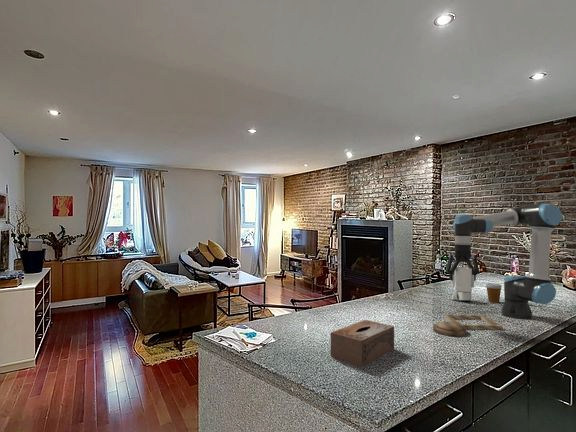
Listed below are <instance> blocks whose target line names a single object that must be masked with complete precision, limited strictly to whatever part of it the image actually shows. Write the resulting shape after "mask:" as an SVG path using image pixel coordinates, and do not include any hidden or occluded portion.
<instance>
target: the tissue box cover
mask: <svg viewBox="0 0 576 432" xmlns="http://www.w3.org/2000/svg"><path fill="white" fill-rule="evenodd" d="M391 350H392V351H393V350H395V326H394V325H391V324H386V323H382V322H377V321H373V320H368V319H363V320H361V321H357V322H356V323H353V324H349V325H346V326H344V327H341V328H338V329H336V330H333V331H331V332H330V357H332V358H334V359H336V360H337V359H338V360H340V361H343V362H345V363H349V364H352V365H354V366H357V367H361V368H362V367H363V366H365V365H368V364H369V363H371V362H372V361H374V360H376V359H379V358H380V357H382V356H384V355H386V354H387V353H390V352H391Z"/></svg>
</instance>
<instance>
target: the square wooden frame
mask: <svg viewBox="0 0 576 432" xmlns="http://www.w3.org/2000/svg"><path fill="white" fill-rule="evenodd" d="M444 319H445V320H446V321H447V322H453V323H458V324H460V325H462V326H463V327H465V328H466V330H495V331H497V330H503V325H502V324H500V323H498V322H496V321H494V320H492V319H490V318H488V317H487V316H484V314H483V315H482V314H444ZM459 320H481V321H483V322H485V323H487V324H463V323H461V322H460V321H459Z"/></svg>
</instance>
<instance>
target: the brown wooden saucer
mask: <svg viewBox="0 0 576 432" xmlns="http://www.w3.org/2000/svg"><path fill="white" fill-rule="evenodd" d="M432 328H433V330H432V331H433V332H434V333H436V334H439V335H442V336H446V337H464V336H466V335H467V329H466V328H465V327H463V326H462V325H460V324H458V323H453V322H450V321H438V322H436V323H435V324H434V323H433V325H432Z"/></svg>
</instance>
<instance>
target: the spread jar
mask: <svg viewBox="0 0 576 432" xmlns="http://www.w3.org/2000/svg"><path fill="white" fill-rule="evenodd" d="M455 298H456V300H457V301H458V302H459V301H460V302H461V303H470V302H471V301H472V292H461V291H456V290H454V289H453V293H452V296H451V300H452V301H454V300H455Z"/></svg>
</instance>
